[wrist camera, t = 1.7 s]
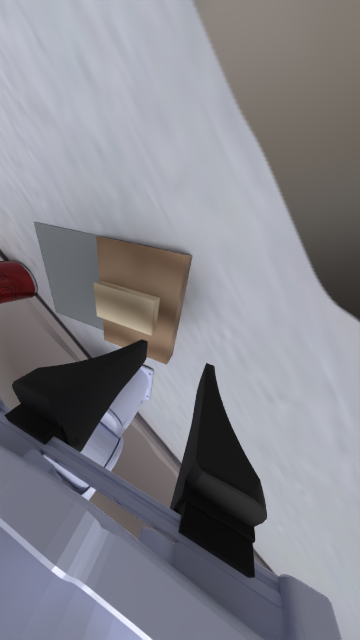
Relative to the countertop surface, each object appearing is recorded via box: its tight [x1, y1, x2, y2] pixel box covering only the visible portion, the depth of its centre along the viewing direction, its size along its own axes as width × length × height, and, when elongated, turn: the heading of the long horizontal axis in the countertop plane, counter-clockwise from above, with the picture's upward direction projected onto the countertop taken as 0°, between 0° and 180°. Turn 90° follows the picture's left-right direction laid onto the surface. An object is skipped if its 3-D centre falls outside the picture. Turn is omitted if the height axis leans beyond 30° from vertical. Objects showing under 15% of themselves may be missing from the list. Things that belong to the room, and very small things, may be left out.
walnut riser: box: [96, 236, 192, 364], centre depth 21 cm, size 16×12×2 cm
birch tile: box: [94, 281, 160, 335], centre depth 19 cm, size 5×9×2 cm, turn 79°
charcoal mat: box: [34, 222, 107, 330], centre depth 25 cm, size 16×14×1 cm
